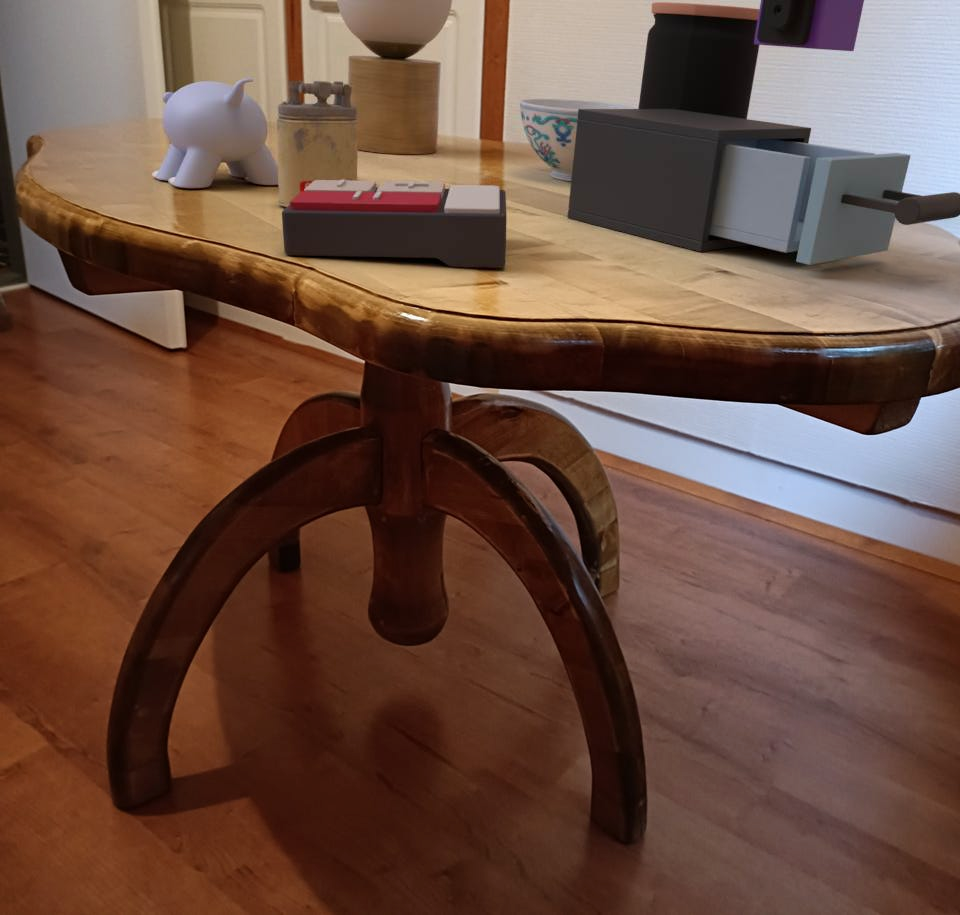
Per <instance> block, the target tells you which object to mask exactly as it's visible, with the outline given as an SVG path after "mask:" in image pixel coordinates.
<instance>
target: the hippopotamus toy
mask: <svg viewBox="0 0 960 915" xmlns="http://www.w3.org/2000/svg"><path fill="white" fill-rule="evenodd" d="M252 82H254V79H253V78H250V77H245V78H242V79H239V80H238V81H236V83H235V84H234V85H231V84H228V83H226V82H220V81H212V80H205V81H197V82H193V83H189V84H186V85H184V86H183V87H180V88H179V89H177V90H176V91H175V92H171V91H166V92H165V93H164V94H163V96H162V101H163V102H164V103H165V105H164V108H163V110H162V117H161V118H162V126H163V131H164V133H165V135H166V138H167V139H168V140H169V141H170V144H169V146H168V149H167V151H166V154H165V156H164V158H163V160H162V162H161V165H160V167H159V169H158V170H155V171H153V172H152V173H151V176H152V177H153V178H156V180H159V181H165V182H166V181H168V183H169V184H170V185H173V187H177V188H181V189H204V188H209V187H210V186H212V183H213V181H214V179H215V177H216V174H217V172H218V170H219V167H220V166H221V164H223V163H224V164H226V166H227V168H228V171H227V174H228V175H230V176H232V177H235V178H242V179H244V180H245V181H247V182H249V183H252V184H255V185H264V186H278V162H276V159H275V158H274V156H273V154H272V151H271V150H270V148H269V147H268V146H267V145H266V141H267V138H268V134H269V131H268V127H269V126H268V121H267V118H266V115H265V112H264V111H263V109H262V108H261V106H260V105H259V104H258V102H257V101H256V100H255V99H254V98H253V97H251V95H249V94H248V93H247V92H245V90H244V89H245V88H244V87H245V84H247V83H252Z"/></svg>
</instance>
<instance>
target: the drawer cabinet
mask: <svg viewBox="0 0 960 915" xmlns="http://www.w3.org/2000/svg"><path fill="white" fill-rule="evenodd" d="M811 134H812V127H806V126H801V125H800V126H799V125H794V124H793V125H792V124H785V123H777V122H771V121H763V120H756V119H748V118H747V119H742V118H735V117H727V116H720V115H713V114H705V113H698V112H691V111H683V110H676V109H578V120H577V130H576V139H575V149H574V159H573V169H572V178H571V181H570V188H569V189H570V190H569V199H568V210H567V219H570V220H574V221H579V222H582V223H587V224H590V225H593V226H597V227H602V228H606V229H610V230H613V231H617V232H622V233H624V234H628V235H633V236H637V237H640V238H645V239H648V240H652V241H656V242H660V243H663V242H664V244H667V243H668V245H671V244H672V245H671V246H675V245H676V246H675V247H679V246H680V247H679V248H683V247H685V248H684V249H687V248H688V249H687V250H691V249H692V250H691V251H694V250H696V251H695V252H698V251H699V253H702V252H701V251H703V252H709V250H710V251H715V249H716V250H722V249H721V248H723V249H729V247H730V248H736V247H742V246H743V247H744V246H748V245H750V244H747V243H743V242H739V241H735V240H731V239H726V238H722V237H718V236H714V235H710V234H709V231H710V225H711V218H712V212H713V206H714V200H715V194H716V188H717V182H718V176H719V170H720V164H721V157H722V151H723V145H724V141H740V140H768V139H781V140H788V141H795V142H801V143H808V144H810V138H811Z"/></svg>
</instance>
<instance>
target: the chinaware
mask: <svg viewBox="0 0 960 915" xmlns="http://www.w3.org/2000/svg"><path fill="white" fill-rule="evenodd" d="M638 108H639V105H632V104H631V105H630V104H624V103H623V104H622V103H615V102H603V101H593V100H579V99H577V100H576V99H561V98H526V99H521V100H520V101H519V110H520V117H521V122H522V127H523V130H524V133H525V136H526V138H527V140H528V142H529V144H530V146H531V147H532V149H533V151H534V152H535V153H536V155H537V156H538V157H539V158H540V159H541V160H542V162H544V163H545V164H546V165H547V166H548V167H550V169H551V170H550V172H551V173H550V175H551V177H552V178H554V179H556V180H560V181H561V180H562V181H566V182H571V178H572V169H573V159H574V149H575V139H576V130H577V120H578V109H638Z"/></svg>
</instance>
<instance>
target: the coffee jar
mask: <svg viewBox="0 0 960 915" xmlns="http://www.w3.org/2000/svg"><path fill="white" fill-rule="evenodd" d="M759 9H760V8H754V7H744V6H732V5H719V4H707V3H706V4H704V3H689V2H669V1H667V2H666V1H665V2H663V1H662V2H659V1H657V2H652V3H651V14H653V15H652V16H653V18H654V24H653V25H652V26H651V28H650V29H648V33H647V39H646V45H645V46H646V47H645V53H644V54H645V55H644V63H643V71H642V76H641V77H642V78H641V86H640V91H639V92H640V94H639V102H638V107H639V108H638V109H676V110H683V111H691V112H698V113H705V114H713V115H720V116H727V117H735V118H742V119H748V114H749V109H750V103H751V97H752V91H753V86H754V80H755V74H756V67H757V62H758V57H759V51H760V45H755V44H754V39H755V33H756V27H757V21H758V15H759Z"/></svg>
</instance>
